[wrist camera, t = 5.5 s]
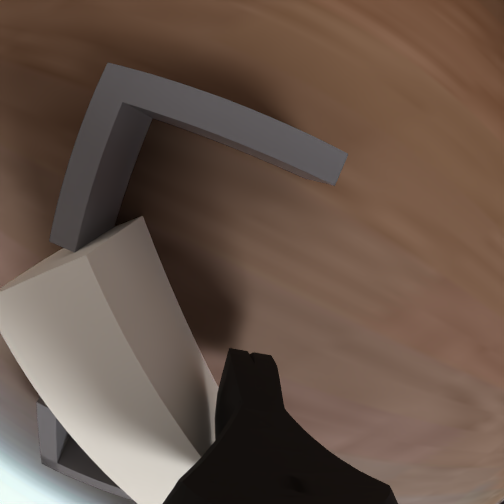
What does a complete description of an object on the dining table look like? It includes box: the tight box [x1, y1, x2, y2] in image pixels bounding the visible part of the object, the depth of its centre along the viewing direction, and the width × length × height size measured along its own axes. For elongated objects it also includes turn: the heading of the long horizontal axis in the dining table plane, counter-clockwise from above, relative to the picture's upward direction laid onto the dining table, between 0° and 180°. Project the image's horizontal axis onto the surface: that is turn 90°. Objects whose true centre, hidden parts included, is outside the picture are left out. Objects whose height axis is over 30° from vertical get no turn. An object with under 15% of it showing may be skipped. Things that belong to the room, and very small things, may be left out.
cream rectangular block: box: [0, 216, 219, 504], centre depth 9 cm, size 4×12×4 cm, turn 18°
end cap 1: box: [37, 397, 134, 501], centre depth 11 cm, size 6×4×3 cm
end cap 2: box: [49, 63, 348, 253], centre depth 8 cm, size 6×4×3 cm
